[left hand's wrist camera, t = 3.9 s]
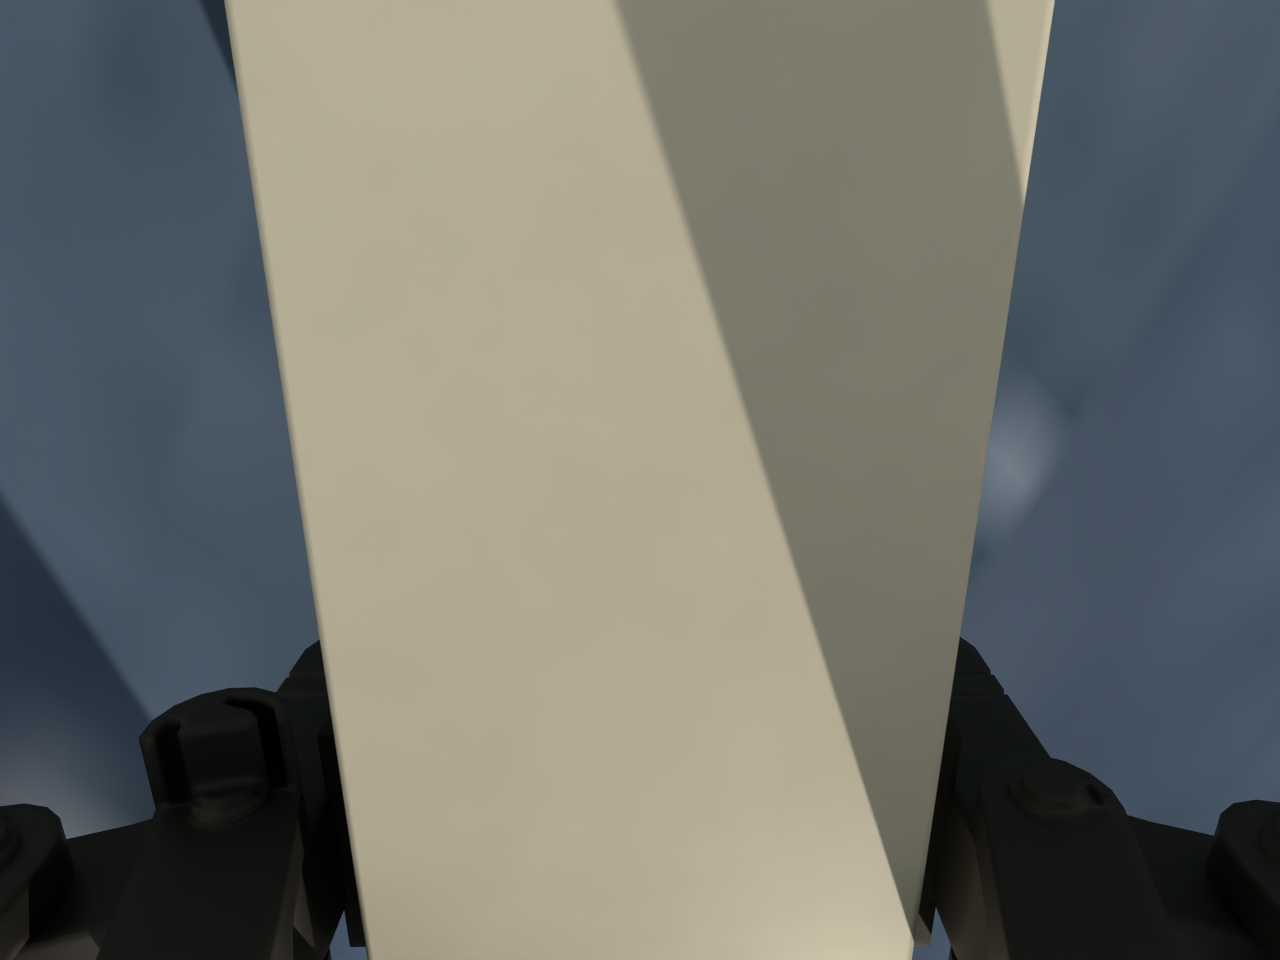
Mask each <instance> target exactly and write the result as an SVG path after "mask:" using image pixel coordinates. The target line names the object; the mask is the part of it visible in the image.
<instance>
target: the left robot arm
mask: <svg viewBox="0 0 1280 960" xmlns="http://www.w3.org/2000/svg"><path fill="white" fill-rule="evenodd" d="M139 742H140V746H141V750H142V754H143V758H144V762H145V766H146V770H147V775H148V779H149V783H150V787H151V791H152V795H153V799H154V803H155V807H156V811H155V813H154V816H153V818H152V819H150V820H146V821H143V822H139V823H136V824H133V825H129V826H125V827H120V828H115V829H111V830H106V831H102V832H97V833H93V834H88V835H84V836H79V837H75V838H70V839H66V837H65V834H64V830H63V827H62V823H61V820H60V818H59V817H58V816H57V815H56V814H55V813H53V812H52V811H51V810H50V809H49V808H47V807H43V806H37V805H31V804H16V805H8V806H0V960H331V954H330V948H329V946H330V944H331V941H332V939H333V936H334V934H335V931H336V929H337V926H338V923H339V921H340V918H341V916H342V913H343V911H345V917H346V924H347V930H348V936H349V943H350V947H366V945H365V938H364V932H363V925H362V918H361V911H360V905H359V898H358V891H357V885H356V878H355V871H354V865H353V858H352V851H351V845H350V838H349V831H348V825H347V818H346V811H345V804H344V798H343V791H342V784H341V778H340V771H339V764H338V758H337V751H336V744H335V738H334V731H333V724H332V718H331V711H330V704H329V698H328V691H327V684H326V677H325V671H324V664H323V657H322V651H321V644H320V640H318V641H317V642H316V643H314V644H313V645H311V646H310V647H308V648H307V649H306V650H305V651H304V652H303V654H302V655H301V657H300V658H299V660H298V661H297V663H296V664H295V666H294V667H293V669H292V670H291V672H290V673H289V678H286V679H285V680H284V682H283V683H282V685H281V686H280V688H279V689H278V691H277V692H272V691H268V690H264V689H260V688H255V687H254V688H228V689H223V690H219V691H214V692H210V693H205V694H201V695H199V696H196V697H194V698H191V699H189V700H187V701H184V702H182V703H179V704H177V705H175V706H173V707H172V708H170V709H169V710H167V711H166V712H164V713H163V714H161V715H160V716H158V717H157V718H155V719H154V720H152V721H151V723H150V724H149V725H148V726H147V728H146V729H145V730H144V731H143V733H142V734H141V735H140V736H139ZM935 908H937V910H938V913H939V916H940V918H941V921H942V923H943V926H944V928H945V931H946V933H947V936H948V938H949V941H950V943H951V948H950V954H949V960H1280V803H1279V802H1270V801H1262V800H1251V801H1245V802H1239V803H1233V804H1232V805H1231V806H1230V807H1228V808H1227V809H1226V810H1225V811H1224V812H1222V813H1221V814H1220V818H1219V821H1218V824H1217V828H1216V831H1215V835H1214V836H1213V835H1208V834H1204V833H1199V832H1195V831H1190V830H1185V829H1181V828H1176V827H1172V826H1167V825H1163V824H1158V823H1153V822H1149V821H1146V820H1142V819H1139V818H1135V817H1132V816H1129V815H1127V814H1126V812H1125V809H1124V807H1123V806H1122V804H1121V803H1120V802H1119V800H1118V799H1117V797H1116V796H1115V794H1114V793H1113V791H1112V790H1111V789H1110V788H1108V787H1107V786H1106V785H1105V784H1103V783H1102V782H1101V781H1099V780H1098V779H1097V778H1096V777H1094V776H1093V775H1092V774H1090V773H1088V772H1086V771H1084V770H1082V769H1080V768H1078V767H1076V766H1074V765H1072V764H1069V763H1067V762H1065V761H1062V760H1058V759H1054V758H1050V756H1049V755H1048V753H1047V752H1046V750H1045V749H1044V747H1043V746H1042V744H1041V743H1040V742H1039V740H1038V739H1037V737H1036V736H1035V734H1034V733H1033V731H1032V730H1031V728H1030V727H1029V726H1028V724H1027V723H1026V721H1025V720H1024V718H1023V717H1022V715H1021V714H1020V712H1019V711H1018V710H1017V708H1016V707H1015V705H1014V704H1013V702H1012V701H1011V699H1010V698H1009V696H1008V695H1004V689H1003V688H1002V686H1001V685H1000V683H999V682H998V680H997V679H996V678H995V676H994V675H991V673H990V669H989V667H988V666H987V664H986V663H985V661H984V660H983V659H982V657H981V656H980V654H979V653H978V651H977V650H976V648H975V647H974V646H973V645H971V644H970V643H968V642H967V641H965V640H964V639H962V638H961V637H960V638H959V645H958V652H957V658H956V665H955V672H954V678H953V685H952V692H951V698H950V705H949V712H948V719H947V725H946V732H945V739H944V745H943V752H942V759H941V766H940V772H939V779H938V786H937V792H936V799H935V806H934V812H933V819H932V826H931V833H930V839H929V846H928V853H927V859H926V866H925V873H924V880H923V886H922V893H921V900H920V906H919V913H918V920H917V926H916V933H915V940H914V947H929V946H930V939H931V933H932V927H933V920H934V914H935Z"/></svg>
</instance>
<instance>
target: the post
mask: <svg viewBox="0 0 1280 960" xmlns="http://www.w3.org/2000/svg"><path fill="white" fill-rule="evenodd" d="M1054 1H1055V0H224V2H225V9H226V16H227V22H228V29H229V36H230V42H231V49H232V56H233V62H234V69H235V76H236V83H237V89H238V96H239V103H240V109H241V116H242V123H243V129H244V136H245V143H246V149H247V156H248V163H249V169H250V176H251V183H252V189H253V196H254V203H255V210H256V216H257V223H258V230H259V236H260V243H261V250H262V256H263V263H264V270H265V276H266V283H267V290H268V296H269V303H270V310H271V316H272V323H273V330H274V337H275V343H276V350H277V357H278V363H279V370H280V377H281V383H282V390H283V397H284V403H285V410H286V417H287V423H288V430H289V437H290V444H291V450H292V457H293V464H294V470H295V477H296V484H297V490H298V497H299V504H300V510H301V517H302V524H303V530H304V537H305V544H306V550H307V557H308V564H309V571H310V577H311V584H312V591H313V597H314V604H315V611H316V617H317V624H318V631H319V637H320V644H321V651H322V657H323V664H324V671H325V677H326V684H327V691H328V698H329V704H330V711H331V718H332V724H333V731H334V738H335V744H336V751H337V758H338V764H339V771H340V778H341V784H342V791H343V798H344V804H345V811H346V818H347V825H348V831H349V838H350V845H351V851H352V858H353V865H354V871H355V878H356V885H357V891H358V898H359V905H360V911H361V918H362V925H363V932H364V938H365V945H366V952H367V958H368V960H912V953H913V947H914V940H915V933H916V926H917V920H918V913H919V906H920V900H921V893H922V886H923V880H924V873H925V866H926V859H927V853H928V846H929V839H930V833H931V826H932V819H933V812H934V806H935V799H936V792H937V786H938V779H939V772H940V766H941V759H942V752H943V745H944V739H945V732H946V725H947V719H948V712H949V705H950V698H951V692H952V685H953V678H954V672H955V665H956V658H957V652H958V645H959V638H960V631H961V625H962V618H963V611H964V605H965V598H966V591H967V584H968V578H969V571H970V564H971V558H972V551H973V544H974V538H975V531H976V524H977V517H978V511H979V504H980V497H981V491H982V484H983V477H984V471H985V464H986V457H987V450H988V444H989V437H990V430H991V424H992V417H993V410H994V403H995V397H996V390H997V383H998V377H999V370H1000V363H1001V357H1002V350H1003V343H1004V336H1005V330H1006V323H1007V316H1008V310H1009V303H1010V296H1011V289H1012V283H1013V276H1014V269H1015V263H1016V256H1017V249H1018V243H1019V236H1020V229H1021V222H1022V216H1023V209H1024V202H1025V196H1026V189H1027V182H1028V175H1029V169H1030V162H1031V155H1032V149H1033V142H1034V135H1035V129H1036V122H1037V115H1038V108H1039V102H1040V95H1041V88H1042V82H1043V75H1044V68H1045V61H1046V55H1047V48H1048V41H1049V35H1050V28H1051V21H1052V15H1053V8H1054Z"/></svg>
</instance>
